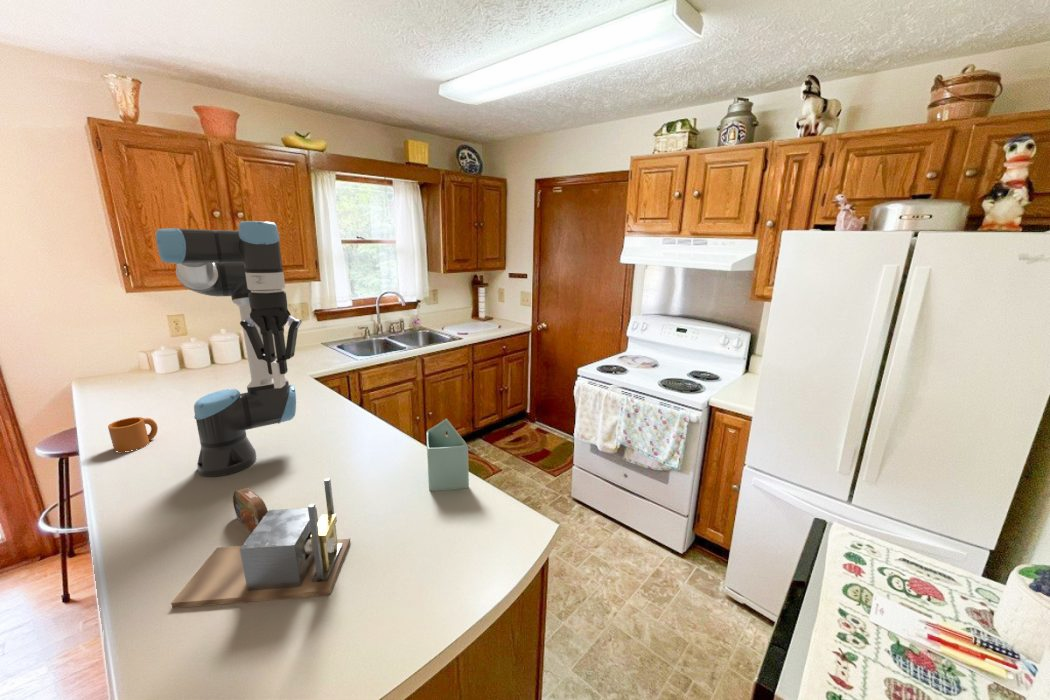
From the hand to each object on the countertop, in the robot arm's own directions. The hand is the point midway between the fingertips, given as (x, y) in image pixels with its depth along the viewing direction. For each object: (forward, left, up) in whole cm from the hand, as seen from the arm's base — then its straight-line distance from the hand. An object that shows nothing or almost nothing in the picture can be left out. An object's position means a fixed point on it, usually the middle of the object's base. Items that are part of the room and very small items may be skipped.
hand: (280, 386), depth 102 cm
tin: (-8, -6, -35) cm, 36 cm away
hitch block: (+9, -23, -33) cm, 41 cm away
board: (+4, -23, -34) cm, 41 cm away
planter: (+37, +7, -35) cm, 51 cm away
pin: (+9, -23, -32) cm, 40 cm away
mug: (-67, +41, -35) cm, 86 cm away
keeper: (+16, -23, -32) cm, 42 cm away
